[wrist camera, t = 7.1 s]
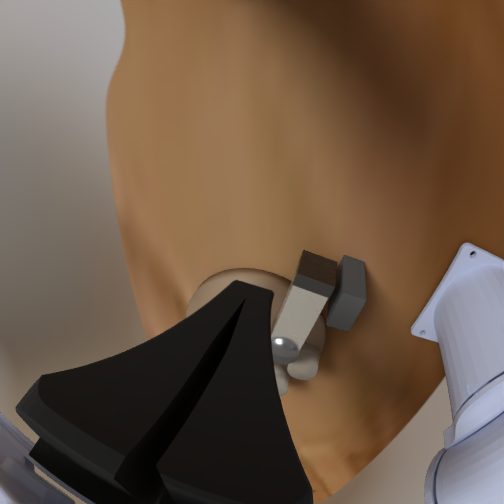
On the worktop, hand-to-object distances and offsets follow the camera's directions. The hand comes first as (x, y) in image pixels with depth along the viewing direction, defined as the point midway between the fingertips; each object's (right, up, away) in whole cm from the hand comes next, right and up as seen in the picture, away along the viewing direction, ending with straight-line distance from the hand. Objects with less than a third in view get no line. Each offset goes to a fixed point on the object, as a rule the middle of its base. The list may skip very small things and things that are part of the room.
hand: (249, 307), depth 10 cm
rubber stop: (+6, 0, +9) cm, 11 cm away
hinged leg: (+3, -1, +9) cm, 10 cm away
